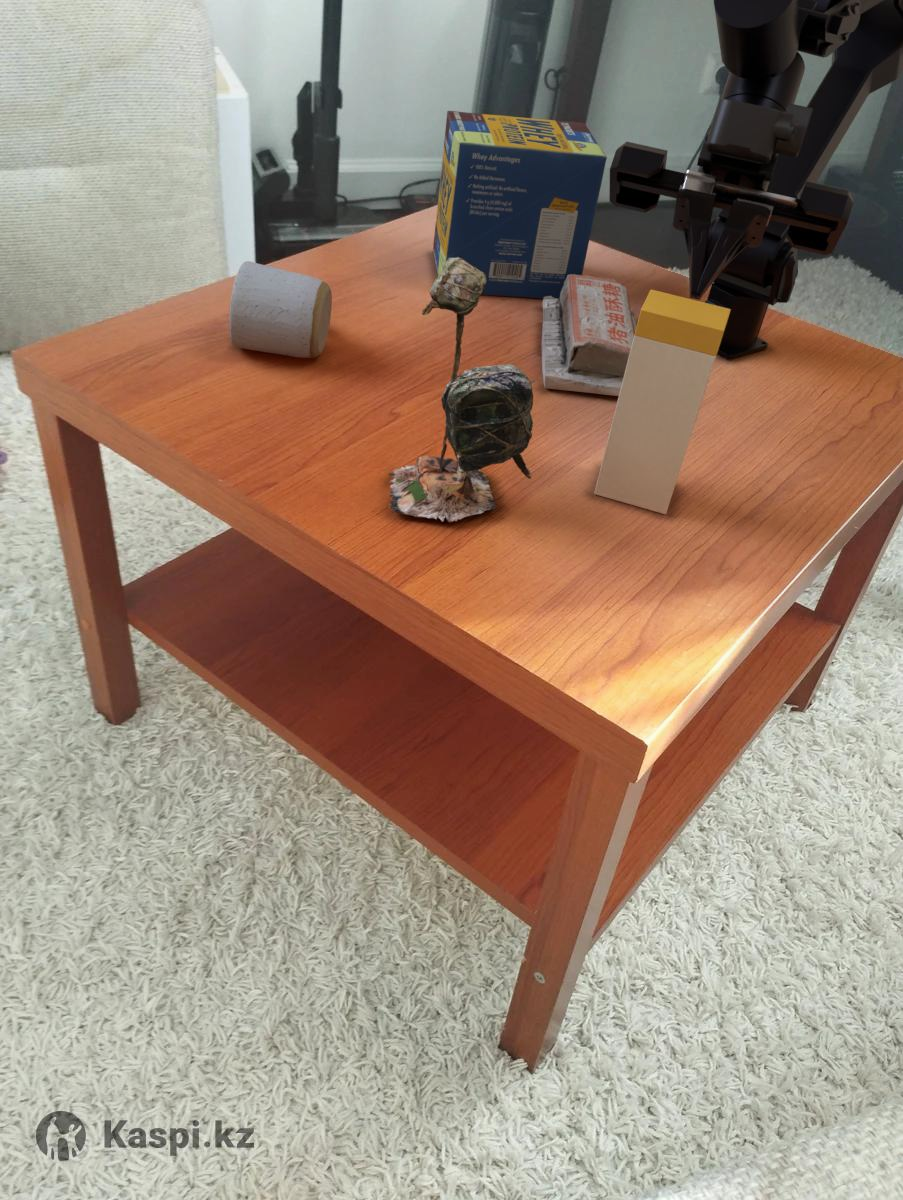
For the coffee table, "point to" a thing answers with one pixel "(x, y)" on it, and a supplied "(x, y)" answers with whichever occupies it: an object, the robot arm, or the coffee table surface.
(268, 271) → the grey cylinder
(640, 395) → the block
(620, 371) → the packaged product
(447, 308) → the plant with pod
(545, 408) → the coffee table surface
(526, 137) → the protein box
